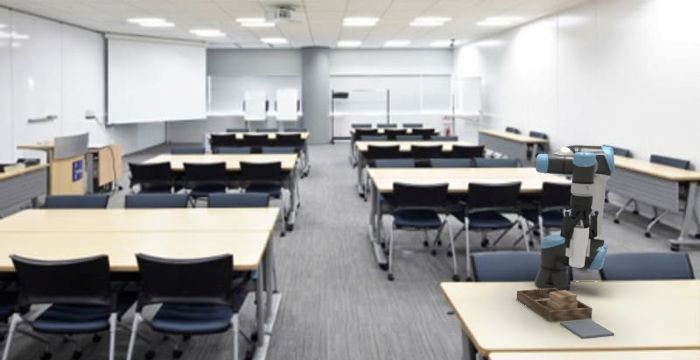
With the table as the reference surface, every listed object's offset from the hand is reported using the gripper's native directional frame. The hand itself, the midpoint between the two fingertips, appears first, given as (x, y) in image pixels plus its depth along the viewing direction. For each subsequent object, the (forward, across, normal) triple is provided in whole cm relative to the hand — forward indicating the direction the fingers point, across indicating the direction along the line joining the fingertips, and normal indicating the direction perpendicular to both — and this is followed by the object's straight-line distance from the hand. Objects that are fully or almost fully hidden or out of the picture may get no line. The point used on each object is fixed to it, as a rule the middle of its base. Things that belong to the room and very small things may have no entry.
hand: (577, 255), depth 204 cm
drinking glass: (+4, 0, 0) cm, 4 cm away
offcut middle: (+23, +1, +8) cm, 25 cm away
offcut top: (+20, +1, +8) cm, 22 cm away
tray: (+25, +1, +14) cm, 29 cm away
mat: (+26, +1, -7) cm, 27 cm away
